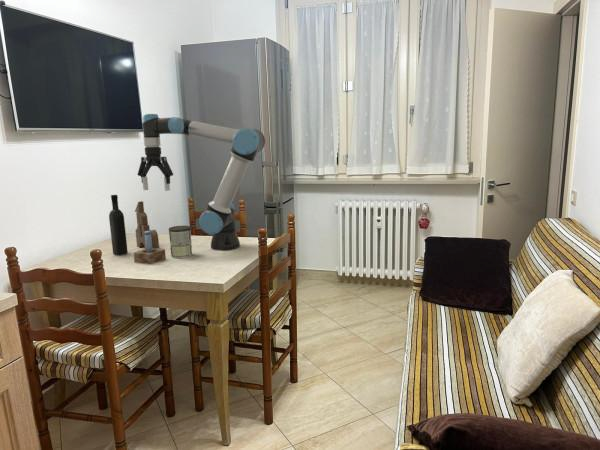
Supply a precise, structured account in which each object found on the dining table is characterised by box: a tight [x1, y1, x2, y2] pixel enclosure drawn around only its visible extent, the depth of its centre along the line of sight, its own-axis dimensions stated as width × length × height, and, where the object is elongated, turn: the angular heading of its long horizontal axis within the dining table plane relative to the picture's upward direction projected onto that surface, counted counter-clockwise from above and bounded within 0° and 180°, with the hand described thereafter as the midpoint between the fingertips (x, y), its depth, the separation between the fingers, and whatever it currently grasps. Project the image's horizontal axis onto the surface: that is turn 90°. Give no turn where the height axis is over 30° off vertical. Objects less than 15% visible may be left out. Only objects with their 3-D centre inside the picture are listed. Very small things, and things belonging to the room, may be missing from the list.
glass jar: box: [168, 225, 193, 259], centre depth 211 cm, size 10×10×14 cm
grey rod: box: [144, 231, 153, 253], centre depth 204 cm, size 3×3×14 cm
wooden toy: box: [134, 200, 160, 249], centre depth 230 cm, size 16×7×25 cm, turn 44°
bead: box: [133, 248, 167, 265], centre depth 205 cm, size 10×10×4 cm
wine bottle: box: [108, 194, 129, 256], centre depth 216 cm, size 6×6×30 cm
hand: (156, 190), depth 214 cm, fingers open, 13 cm apart
